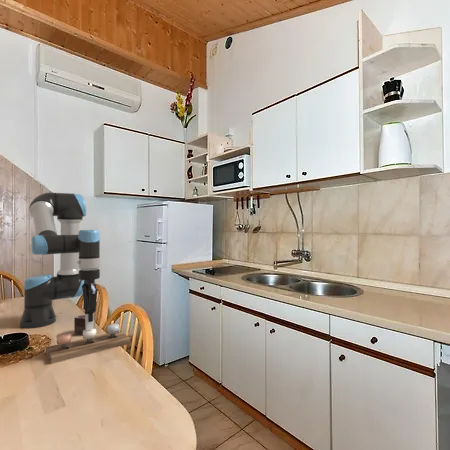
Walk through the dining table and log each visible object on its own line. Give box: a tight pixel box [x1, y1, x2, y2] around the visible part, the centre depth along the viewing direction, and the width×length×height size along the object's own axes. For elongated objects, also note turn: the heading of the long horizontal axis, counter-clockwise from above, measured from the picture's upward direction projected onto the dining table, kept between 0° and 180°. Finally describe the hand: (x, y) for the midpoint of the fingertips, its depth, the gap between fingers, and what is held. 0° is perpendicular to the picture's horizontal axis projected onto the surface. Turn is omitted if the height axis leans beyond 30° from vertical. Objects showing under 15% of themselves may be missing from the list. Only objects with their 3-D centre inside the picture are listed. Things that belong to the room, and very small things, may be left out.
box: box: [73, 313, 86, 336], centre depth 134 cm, size 6×6×7 cm
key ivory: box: [82, 328, 97, 343], centre depth 117 cm, size 5×5×4 cm
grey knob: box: [106, 323, 120, 337], centre depth 122 cm, size 5×5×4 cm
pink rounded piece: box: [56, 332, 72, 348], centre depth 111 cm, size 5×5×4 cm
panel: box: [45, 330, 131, 364], centre depth 117 cm, size 12×28×2 cm, turn 129°
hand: (89, 329), depth 117 cm, fingers closed
